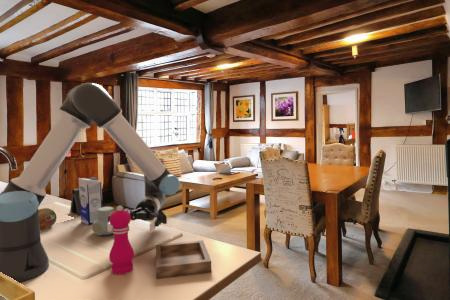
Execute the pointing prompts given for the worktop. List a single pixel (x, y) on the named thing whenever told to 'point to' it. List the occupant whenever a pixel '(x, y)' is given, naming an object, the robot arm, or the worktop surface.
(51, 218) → the tin
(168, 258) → the walnut tray
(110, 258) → the pepper mill
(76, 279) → the worktop surface
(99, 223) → the air freshener
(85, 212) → the milk carton
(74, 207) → the door stopper
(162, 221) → the robot arm
